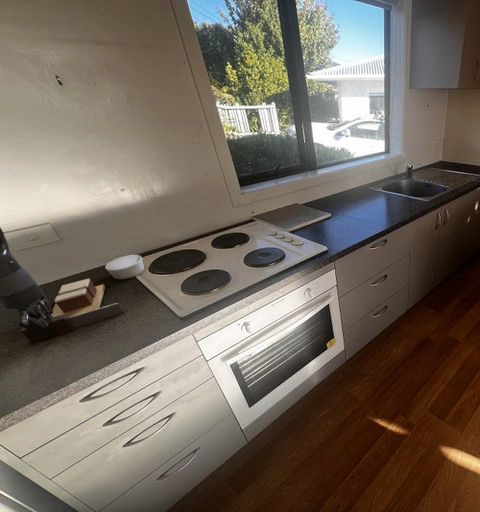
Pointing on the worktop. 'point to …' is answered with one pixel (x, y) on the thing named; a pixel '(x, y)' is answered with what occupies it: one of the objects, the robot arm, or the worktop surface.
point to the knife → (73, 321)
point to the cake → (79, 287)
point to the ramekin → (125, 267)
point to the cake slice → (74, 300)
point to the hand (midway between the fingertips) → (53, 333)
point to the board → (95, 305)
